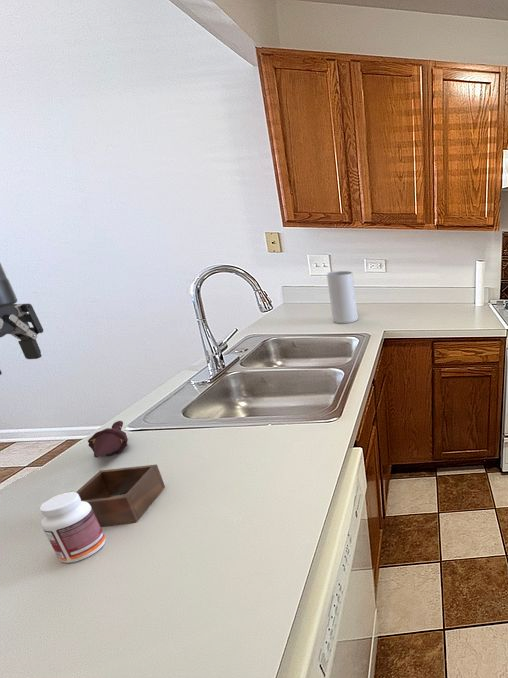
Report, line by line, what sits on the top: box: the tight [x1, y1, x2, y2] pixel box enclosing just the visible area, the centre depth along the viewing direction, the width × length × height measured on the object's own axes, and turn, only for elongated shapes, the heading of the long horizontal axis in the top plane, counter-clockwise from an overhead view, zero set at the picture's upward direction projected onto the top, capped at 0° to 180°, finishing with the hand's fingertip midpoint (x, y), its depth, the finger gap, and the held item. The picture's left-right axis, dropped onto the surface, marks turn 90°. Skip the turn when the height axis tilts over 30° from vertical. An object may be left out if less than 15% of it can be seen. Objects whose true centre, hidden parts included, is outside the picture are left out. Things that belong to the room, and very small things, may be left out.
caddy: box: [75, 464, 166, 528], centre depth 80 cm, size 11×11×6 cm
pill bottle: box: [39, 491, 107, 564], centre depth 69 cm, size 6×6×11 cm
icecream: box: [87, 420, 129, 459], centre depth 97 cm, size 7×7×15 cm
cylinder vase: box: [326, 270, 359, 324], centre depth 206 cm, size 12×12×25 cm
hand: (14, 366), depth 73 cm, fingers open, 8 cm apart
